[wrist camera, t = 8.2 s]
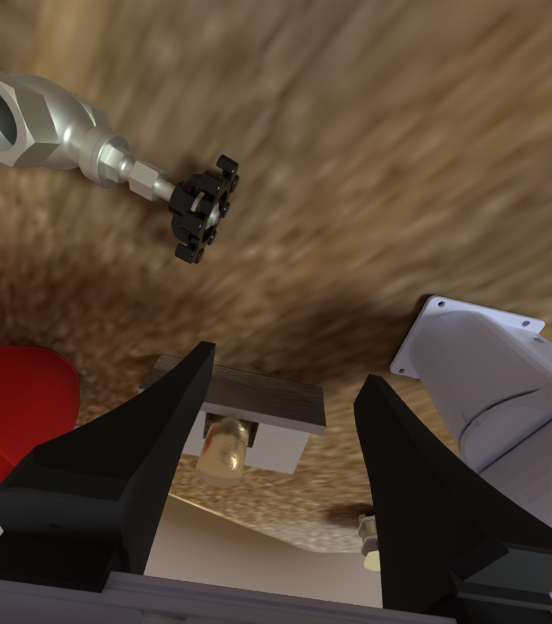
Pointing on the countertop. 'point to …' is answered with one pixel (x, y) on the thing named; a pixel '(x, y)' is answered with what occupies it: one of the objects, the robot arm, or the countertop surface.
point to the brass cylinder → (224, 451)
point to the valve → (105, 156)
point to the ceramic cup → (34, 401)
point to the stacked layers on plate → (369, 542)
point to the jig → (255, 413)
